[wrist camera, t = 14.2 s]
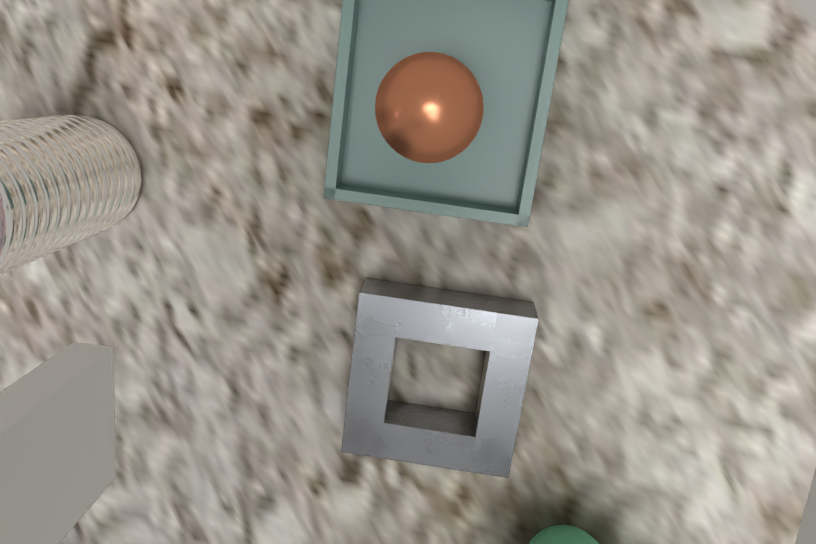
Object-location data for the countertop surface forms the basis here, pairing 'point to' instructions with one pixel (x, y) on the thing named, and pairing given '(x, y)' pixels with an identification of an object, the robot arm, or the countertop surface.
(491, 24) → the tray
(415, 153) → the pin
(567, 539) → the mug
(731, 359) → the countertop surface
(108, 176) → the water bottle
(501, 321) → the block
